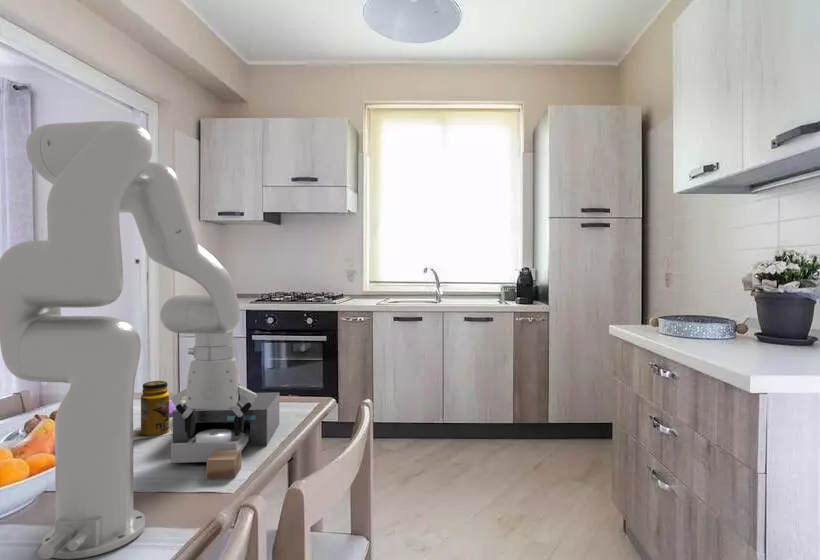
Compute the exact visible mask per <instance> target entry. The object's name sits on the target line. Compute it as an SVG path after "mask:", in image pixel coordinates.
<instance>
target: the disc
mask: <svg viewBox="0 0 820 560" xmlns="http://www.w3.org/2000/svg"><path fill="white" fill-rule="evenodd" d="M202 442H231V431H230V430H227V429H212V430H206V431H203V432H200V433H198V434H197V435H196V443H202Z"/></svg>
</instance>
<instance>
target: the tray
mask: <svg viewBox="0 0 820 560" xmlns="http://www.w3.org/2000/svg"><path fill="white" fill-rule="evenodd" d="M200 432H203V431H199V432H198V433H200ZM198 433H197V434H198ZM197 434H196V435H197ZM196 435H194V436H193V437H192V438H191V439H190V440H189V441H188V442H187V443H173V442H172V443H171V444H170V463H173V464H174V463H175V464H179V463H207V459H208V458H209V457H210V456H211V455H212V453H213V452H214V451H221V450H241V452H242V451H243V449H244V448H245V447H246V446H245V445H246V444H247V442H248V441H249V440H250V430H243V431H241V433H240V434H239V435H238V436H234V430H232V431H231V442H202V443H196Z"/></svg>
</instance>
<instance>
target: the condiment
mask: <svg viewBox="0 0 820 560" xmlns="http://www.w3.org/2000/svg"><path fill="white" fill-rule="evenodd" d="M141 391H142V394H141V396H140V429H138V430H137V429H133V441H135V440H143V439H150V438H157V437H164V436H170V435H173V430H171V428H170V417H169V401H170V393H169V392H168V382H167V381H166V380H152V381H147V382H144V383H143V384H142V390H141ZM154 436H155V437H154Z"/></svg>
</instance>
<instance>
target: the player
mask: <svg viewBox="0 0 820 560" xmlns="http://www.w3.org/2000/svg"><path fill="white" fill-rule="evenodd" d="M255 393H256V394H257V397H256V399H255V401H254V403H253V404H252V406H251V407H250V409H249V410H248V411H247V412H245V413H244V429H243V430H250V440H249V441H248V442H247V444H246V445H245V447H266V446H268V445H269V443H270V441H271V439H272V437H273V436H274V434H275V432H276V431H277V429H278V427H279V425H280V392H255ZM247 401H248V398H247V397H245V396H243V395H241V399H240V403H241V405H242V406H244V405H245V404H246V403H247ZM183 403H184V404H185V405H186V401H185V402H183ZM186 406H187V405H186ZM193 414H195V433H194V434H193V435H192V436H191V437H187V432H185V418H183V416H182V414H181V413H180V412H179V411H178V410H177V409H175V410H174V411H173V417H172V433H173V434H172V444H173V443H187V442H188V441H189V440H190V439H191V438H192V437H193V436H194V435H196V434H197V433H198V432H199V431H206V430H212V429H227V430H230V431H232V430H234V418H235V417H236V414H235V413H234V411H233V410H232V409H219V410H195V411H194V412H193Z"/></svg>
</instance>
